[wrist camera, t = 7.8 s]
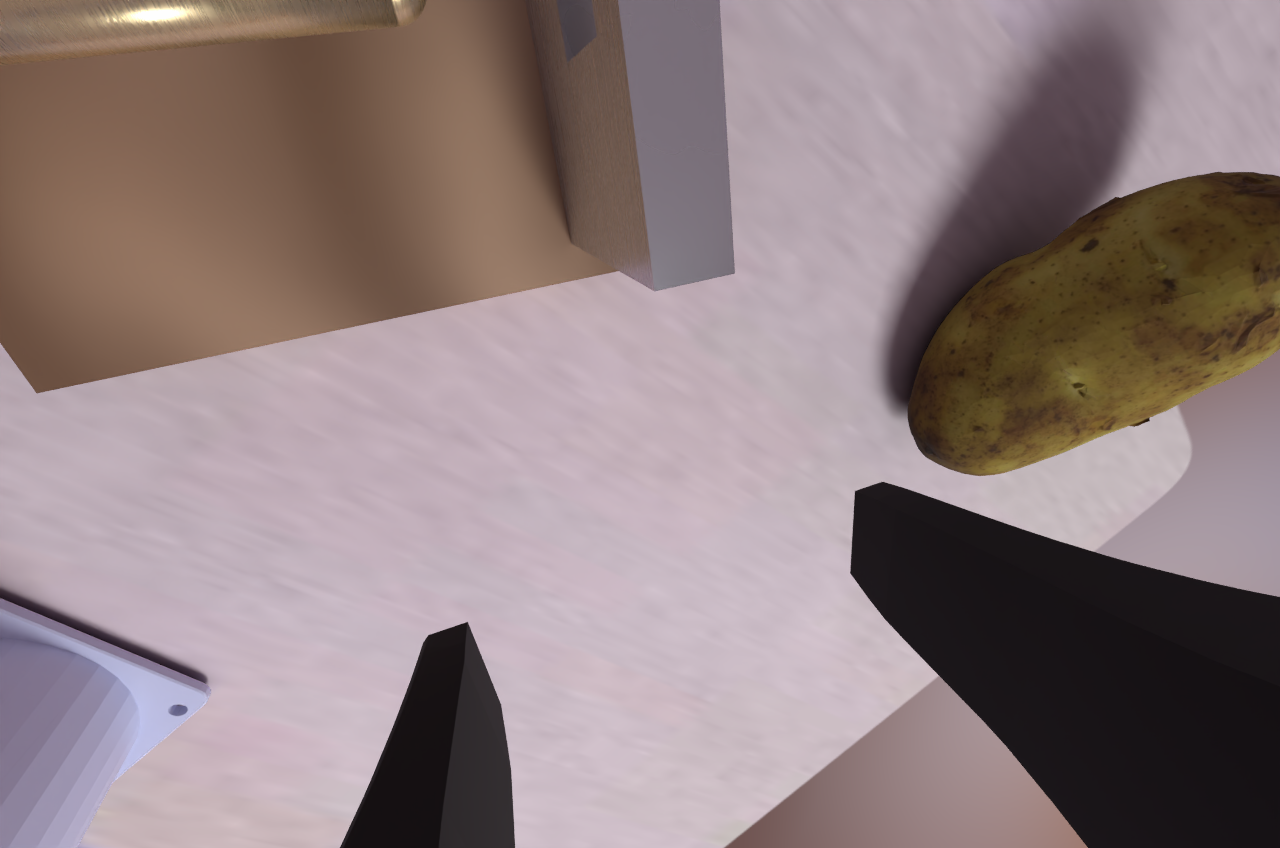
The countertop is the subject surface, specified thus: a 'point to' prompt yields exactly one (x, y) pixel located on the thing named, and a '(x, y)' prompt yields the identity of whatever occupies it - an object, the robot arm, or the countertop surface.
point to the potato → (1104, 324)
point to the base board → (272, 190)
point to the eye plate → (639, 133)
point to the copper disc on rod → (178, 24)
